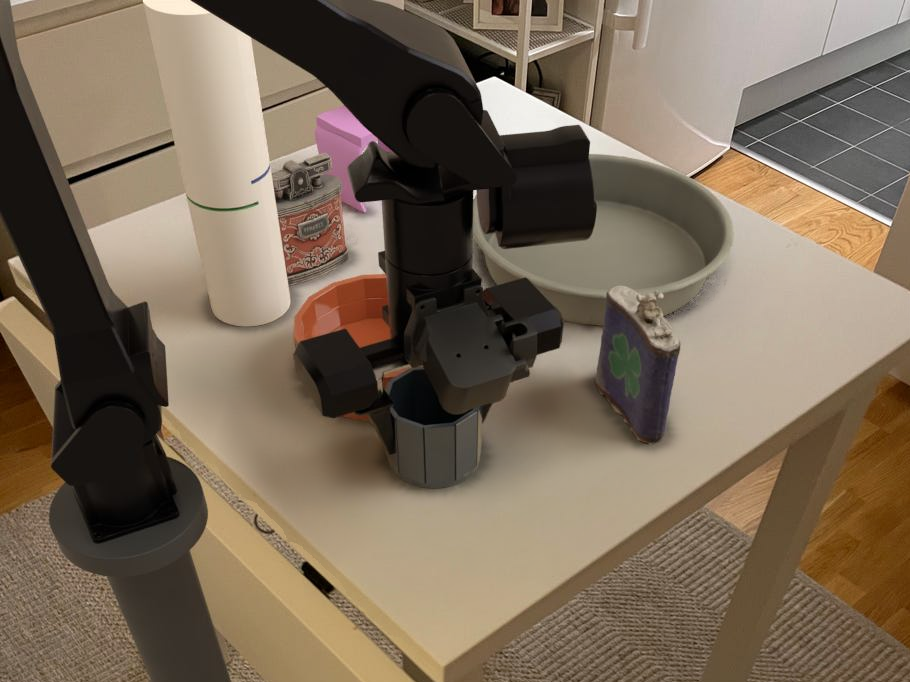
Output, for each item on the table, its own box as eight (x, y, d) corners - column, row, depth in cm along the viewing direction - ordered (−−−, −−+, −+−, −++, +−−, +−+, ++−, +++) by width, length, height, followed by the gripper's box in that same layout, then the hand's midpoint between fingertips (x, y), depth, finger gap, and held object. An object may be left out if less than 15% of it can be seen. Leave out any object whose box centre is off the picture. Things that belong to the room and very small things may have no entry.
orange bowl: (339, 442, 79) (333, 397, 76) (276, 344, 87) (268, 299, 83) (496, 392, 83) (497, 346, 80) (423, 303, 91) (421, 258, 87)
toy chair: (312, 189, 103) (293, 30, 91) (373, 159, 107) (362, 3, 95) (367, 219, 100) (355, 58, 88) (428, 186, 104) (425, 29, 92)
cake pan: (579, 372, 85) (584, 327, 82) (418, 243, 97) (417, 199, 94) (778, 279, 94) (791, 235, 91) (609, 172, 106) (614, 129, 103)
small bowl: (413, 501, 75) (409, 440, 71) (373, 441, 79) (367, 380, 75) (496, 472, 78) (499, 411, 73) (453, 415, 82) (453, 354, 77)
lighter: (284, 290, 92) (268, 185, 84) (264, 274, 93) (246, 169, 86) (356, 260, 95) (346, 157, 87) (335, 245, 97) (324, 141, 89)
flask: (588, 380, 85) (604, 266, 76) (619, 372, 85) (637, 258, 77) (642, 448, 79) (665, 334, 71) (674, 439, 80) (700, 324, 72)
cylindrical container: (306, 296, 91) (264, -11, 72) (255, 335, 88) (197, 23, 68) (246, 272, 94) (189, -32, 74) (194, 309, 90) (120, -1, 70)
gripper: (343, 359, 57) (363, 544, 70) (616, 279, 63) (590, 464, 75) (275, 262, 63) (305, 448, 76) (531, 196, 69) (519, 380, 81)
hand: (433, 436), depth 77 cm, fingers closed on small bowl, 7 cm apart
